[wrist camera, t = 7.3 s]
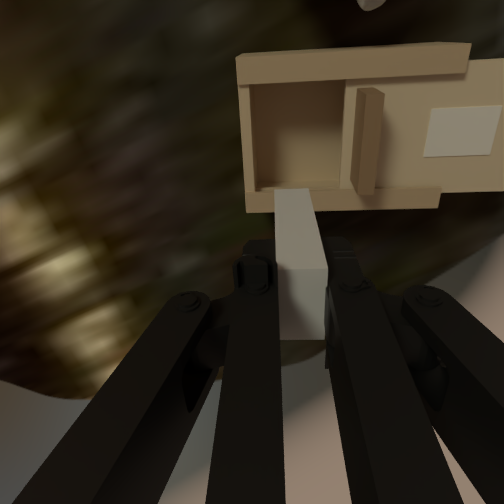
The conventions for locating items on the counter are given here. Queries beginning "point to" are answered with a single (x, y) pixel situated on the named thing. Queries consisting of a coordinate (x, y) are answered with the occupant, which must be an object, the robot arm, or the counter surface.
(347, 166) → the lid
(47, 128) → the counter surface
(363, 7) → the teacup
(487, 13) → the counter surface
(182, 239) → the counter surface
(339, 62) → the box
